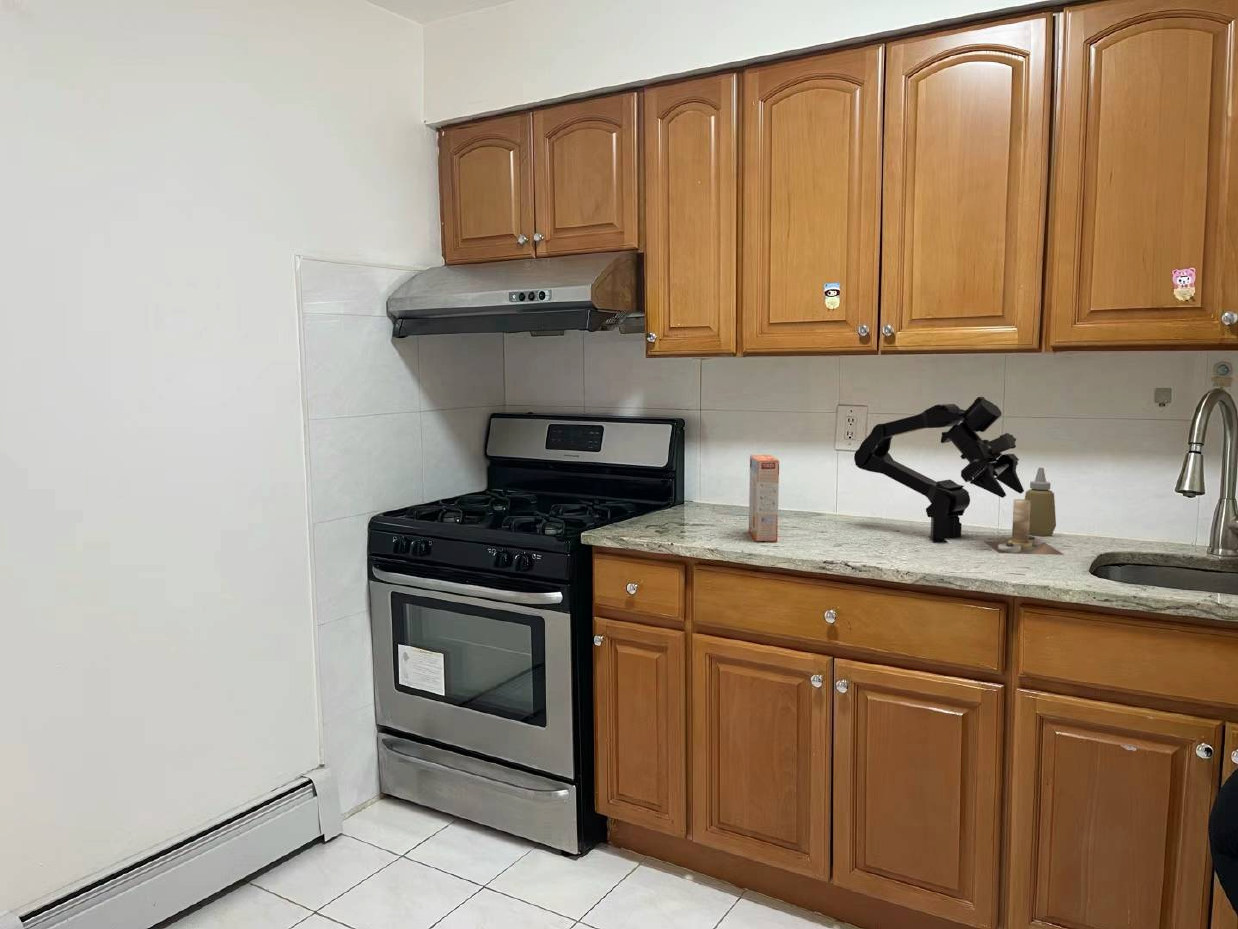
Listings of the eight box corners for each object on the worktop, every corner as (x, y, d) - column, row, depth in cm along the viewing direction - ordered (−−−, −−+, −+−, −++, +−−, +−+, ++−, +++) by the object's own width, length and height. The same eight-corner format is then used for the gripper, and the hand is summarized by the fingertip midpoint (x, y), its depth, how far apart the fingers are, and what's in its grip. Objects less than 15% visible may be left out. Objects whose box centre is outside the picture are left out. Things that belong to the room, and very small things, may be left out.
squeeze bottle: (1035, 542, 221) (1039, 470, 219) (1013, 536, 229) (1016, 466, 226) (1062, 540, 223) (1066, 469, 221) (1039, 534, 231) (1042, 465, 229)
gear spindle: (1011, 548, 207) (1013, 501, 205) (1005, 544, 212) (1007, 498, 211) (1035, 549, 206) (1037, 502, 205) (1028, 544, 211) (1030, 499, 210)
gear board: (998, 558, 203) (999, 545, 203) (983, 546, 217) (984, 534, 216) (1063, 559, 201) (1064, 546, 201) (1044, 547, 214) (1045, 535, 214)
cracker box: (779, 542, 223) (780, 459, 220) (755, 542, 223) (755, 459, 221) (770, 532, 237) (771, 453, 234) (748, 532, 237) (748, 454, 234)
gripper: (975, 424, 205) (1021, 476, 198) (1012, 420, 217) (1056, 469, 210) (942, 455, 212) (985, 507, 205) (979, 450, 224) (1021, 498, 217)
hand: (1013, 494), depth 209 cm, fingers open, 9 cm apart
